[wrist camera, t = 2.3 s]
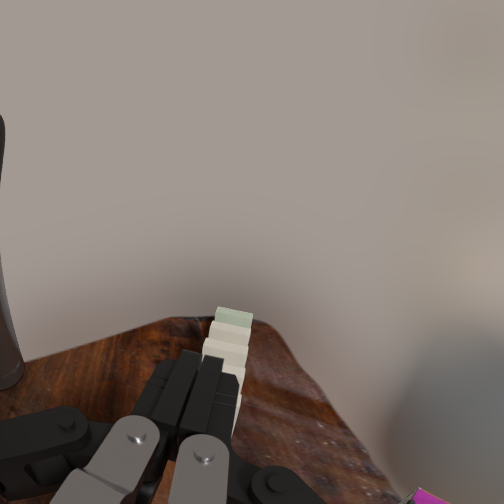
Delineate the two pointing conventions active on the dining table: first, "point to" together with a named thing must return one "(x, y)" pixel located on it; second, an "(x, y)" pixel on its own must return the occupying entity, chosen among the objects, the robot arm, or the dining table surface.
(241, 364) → the domino
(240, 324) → the domino
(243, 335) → the domino
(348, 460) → the dining table surface
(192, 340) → the dining table surface
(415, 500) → the candy bar box
